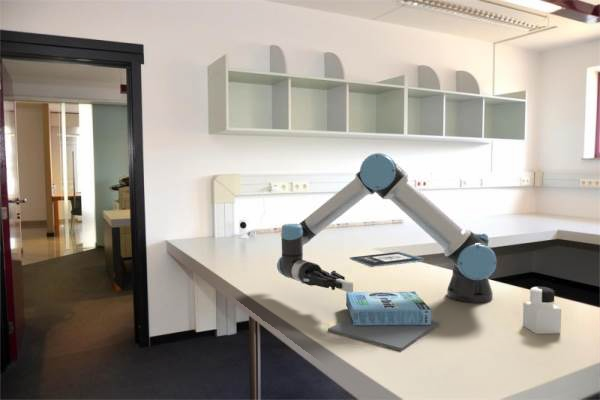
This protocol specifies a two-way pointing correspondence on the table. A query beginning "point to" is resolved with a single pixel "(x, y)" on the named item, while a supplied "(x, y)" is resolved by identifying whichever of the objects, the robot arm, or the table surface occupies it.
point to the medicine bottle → (542, 312)
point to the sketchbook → (386, 259)
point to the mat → (384, 333)
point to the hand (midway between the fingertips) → (350, 287)
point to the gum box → (387, 308)
